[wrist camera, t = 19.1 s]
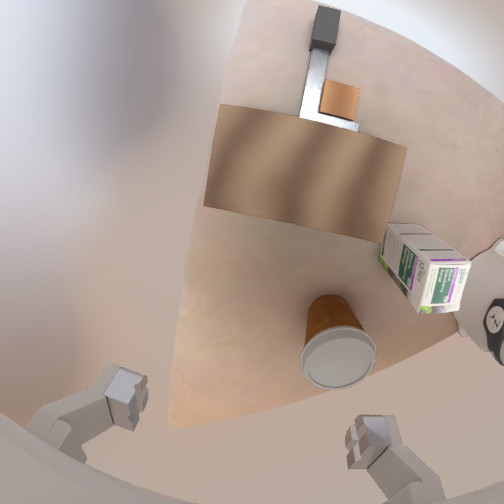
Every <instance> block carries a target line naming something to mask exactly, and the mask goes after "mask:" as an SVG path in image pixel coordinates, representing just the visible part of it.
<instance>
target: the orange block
mask: <svg viewBox="0 0 504 504" xmlns="http://www.w3.org/2000/svg"><path fill="white" fill-rule="evenodd" d="M359 89H360V88H356V87H353V86H349V85H346V84H342V83H338V82H334V81H330V80H325V81H324V83H323V88H322V94H321V99H320V104H319V109H318V113H320V114H324V115H328V116H332V117H336V118H340V119H344V120H347V121H353V120H354V117H355V112H356V106H357V101H358V95H359Z"/></svg>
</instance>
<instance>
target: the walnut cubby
mask: <svg viewBox="0 0 504 504" xmlns="http://www.w3.org/2000/svg"><path fill="white" fill-rule="evenodd" d="M406 150H407V148H406V147H403V146H400V145H397V144H395V143H392V142H389V141H386V140H382V139H379V138H376V137H373V136H370V135H366V134H363V133H360V132H356V131H353V130H349V129H345V128H342V127H338V126H334V125H330V124H326V123H322V122H318V121H314V120H310V119H305V118H301V117H296V116H291V115H286V114H281V113H276V112H270V111H265V110H259V109H253V108H246V107H240V106H232V105H225V104H220V107H219V113H218V118H217V124H216V130H215V135H214V141H213V147H212V153H211V159H210V166H209V172H208V179H207V185H206V192H205V199H204V206H206V207H212V208H217V209H222V210H227V211H233V212H238V213H243V214H248V215H253V216H258V217H263V218H268V219H273V220H277V221H282V222H287V223H292V224H296V225H301V226H306V227H310V228H315V229H319V230H324V231H328V232H333V233H337V234H342V235H346V236H350V237H355V238H359V239H363V240H367V241H372V242H376V243H380V244H382V241H383V238H384V235H385V232H386V228H387V225H388V222H389V218H390V215H391V211H392V208H393V204H394V200H395V197H396V193H397V189H398V185H399V181H400V177H401V173H402V168H403V164H404V160H405V155H406Z"/></svg>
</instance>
